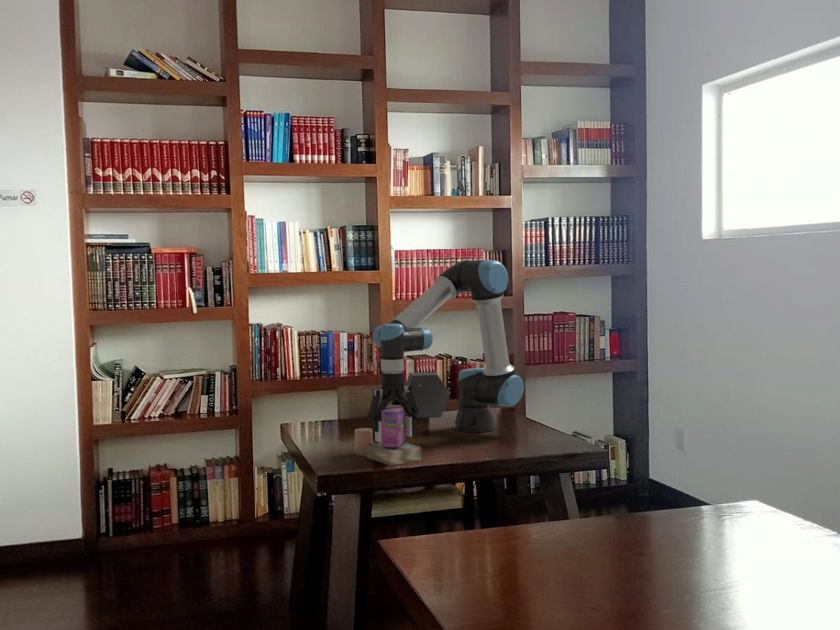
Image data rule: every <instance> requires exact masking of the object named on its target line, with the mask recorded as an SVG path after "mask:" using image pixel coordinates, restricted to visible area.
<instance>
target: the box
mask: <svg viewBox="0 0 840 630" xmlns="http://www.w3.org/2000/svg"><path fill="white" fill-rule="evenodd" d="M380 422H381V434H382V447H399V446H400V445H401V444H402V443H403V442H406V436H405V409H404V407H403V406H401V405H391V404H389V405H388V404H387V406H386V408H385V410H383V411H381V418H380Z"/></svg>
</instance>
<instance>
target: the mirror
mask: <svg viewBox="0 0 840 630" xmlns="http://www.w3.org/2000/svg"><path fill="white" fill-rule="evenodd" d="M366 458H368V459H371V460H374V461H377V462H380V463H382V464H385V465H386V466H396V465H401V464H407V463H411V462H416V461H422V446H421V447H420V446H419V445H415V444H411V443H409V442H406V441H404V442H403V443H402V444H401V445H400V446H399V447H382V442H375V443H373V444H369V445H367V456H366Z"/></svg>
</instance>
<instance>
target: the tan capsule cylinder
mask: <svg viewBox="0 0 840 630" xmlns="http://www.w3.org/2000/svg"><path fill="white" fill-rule="evenodd" d="M373 432H374V431H373V428H369V427H364V428H363V427H362V428H356V429H354V454H355V456H361V457H364V456H365V457H367V445H369V444H374V440H373V439H374V438H373V436H374V433H373Z"/></svg>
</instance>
